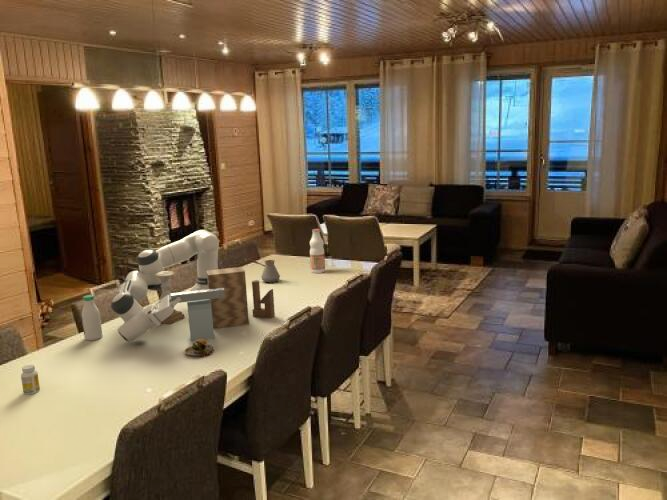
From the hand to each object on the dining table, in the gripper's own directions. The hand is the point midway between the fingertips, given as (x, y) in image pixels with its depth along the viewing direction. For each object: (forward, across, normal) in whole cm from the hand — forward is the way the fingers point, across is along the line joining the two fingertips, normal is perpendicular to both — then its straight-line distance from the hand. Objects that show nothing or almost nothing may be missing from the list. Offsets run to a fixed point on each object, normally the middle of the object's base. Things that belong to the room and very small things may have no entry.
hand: (180, 296), depth 249 cm
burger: (-5, +20, -20) cm, 29 cm away
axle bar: (+6, 0, -6) cm, 8 cm away
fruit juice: (+66, -97, -61) cm, 133 cm away
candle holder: (-15, -32, -14) cm, 39 cm away
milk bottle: (-45, -19, +2) cm, 48 cm away
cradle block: (-3, 0, -21) cm, 21 cm away
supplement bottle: (-58, +35, +10) cm, 68 cm away
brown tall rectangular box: (+9, -14, -28) cm, 33 cm away
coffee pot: (+34, -88, -42) cm, 104 cm away
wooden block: (+24, -18, -37) cm, 47 cm away
